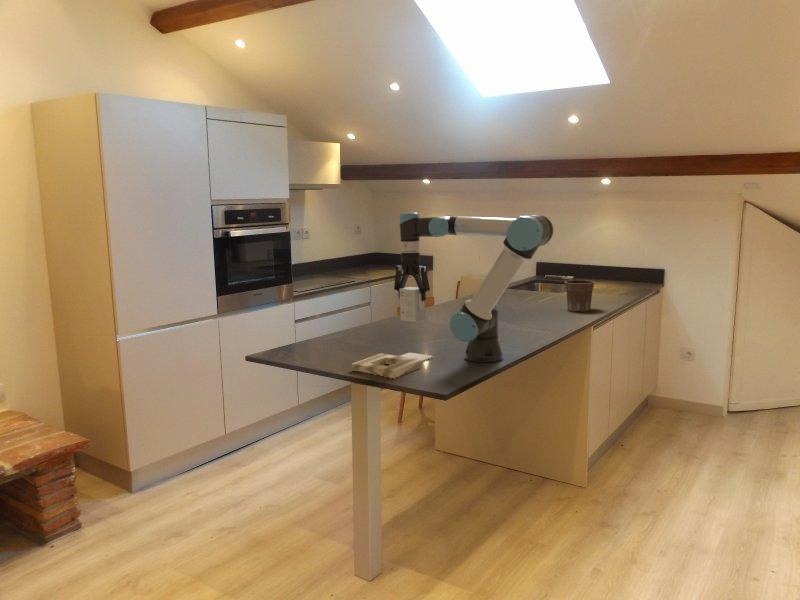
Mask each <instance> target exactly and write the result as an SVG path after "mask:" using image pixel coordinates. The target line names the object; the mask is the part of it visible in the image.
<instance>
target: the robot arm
mask: <svg viewBox="0 0 800 600" xmlns="http://www.w3.org/2000/svg"><path fill="white" fill-rule="evenodd" d="M399 233H400V251H401V253H400V261H401V264H400V265H395V266H394V267H395V277H394V285H393V286H394V287H393V289H394V290H395V291H397V292H398V299H399V300H400V288H405V287H406V283H407V281H408V278H409V277H410V276H412V277H413V278H414V280H415V283H416V285H417V288H419V290H420V292H419V309H420V310H421V309H425V310H426V307H424V301H426V299H427V294H426V293H428V292H430V290H431V289H430V288H431V287H430V283H429V279H428V273H427V269H428V267H427V266H426V265H425V266H423V265H421V263H420V262H421V253H420V250H421V248H420V247H421V246H420V245H421V243H420V238H422V237H423V238H424V237H425V238H426V237H429V238H433V237H434V238H440V237H445V236H468V237H482V238H485V237H486V238H498V239H499V238H500V239H504V240H503V242H502V243H503V246H504V247H503V249H502V251H501V253H500V254H499V255H498V257H497V259H496V261H494V263H493V265H492V267H491V268H490V270H489V272H488V273H487V274H486V276H485V278H484V279H483V281H482V282H481V284H480V285H479V287H478V289H477V290H476V291H475V293H474V295H473V297H472V298H471V299H466V300H465V302H464V303H463V305H462V306H461V308H460V309H459V311H457V312H455V313H454V314H453V315H452V316H451V317H450V320H449V322H448V323H449V324H448V326H449V330H450V333H451V334H452V335H453V337H454V338H455V339H456V340H458V341H459V342H460V341H461V342H464V343H467V345H466V348H465V352H464V358H465V360H467V361H470V362H473V363H493V362H499V361H502V360H503V359H504V351H503V350H502V347H501V343H500V340H499V306H498V304H497V303H498V301H499V300H500V299H501V297H502V295H503V294H504V292H505V291H506V289H507V288H508V286H509V285H510V283H511V282H512V280H513V279H514V278H515V276H516V274H517V273H518V271H519V270H520V269H521V266H522V265H523V264H524V262H525V261H527V260H528V261H529V260H531V259H532V258H533V256H534V255H535V253H536V252H537V250H538V249H539V248H540V247H542V246H545V245H547V244H548V243H549V242H550V241H551V239H552V238H553V236H554V225H553V222H551V220H550V218H548V217H546V216H545V215H542V214H531V215H528V214H527V215H520V216H519V217H518V218H509V217H487V216H486V217H485V216H484V217H482V216H460V215H458V216H456V215H450V214H448V215H443V216H441V215H440V216H427V217H420V216H419V213H418V212H402V213H401V214H400V215H399Z"/></svg>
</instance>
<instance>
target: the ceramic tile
mask: <svg viewBox="0 0 800 600" xmlns="http://www.w3.org/2000/svg"><path fill="white" fill-rule="evenodd" d="M400 356H401V357H407V358H414V359H420V360H422V363H425V362H426V360H427V361H429V360H432V359H433V358H434V355H429V354H424V353H415V352H407V353H404V354H402V355H400ZM431 358H432V359H431ZM428 359H429V360H428Z"/></svg>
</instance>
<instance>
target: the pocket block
mask: <svg viewBox="0 0 800 600" xmlns="http://www.w3.org/2000/svg"><path fill="white" fill-rule="evenodd" d="M422 363H423V362H422V360H420V359H414V358H407V357H401V355H393V354H386V353H382V352H381V353H377V354H375V355H373V356H369V357H367V358H364V359H362V360H358V361H355V362H353V363H351V369H352V368H353V369H357V370H361V371H364V372H368V373H372V374H376V375H380V376H379V377H381V376H384V377H383V378H387V377H389V378H388V379H392V378H394V379H397V378H399V377H402V376H404V375H406V373H407V374H409V373H411V372H413V371H417V370H418V369H421V368H422V367H423V366H422V365H423V364H422ZM383 364H391V365H383ZM376 375H375V376H376ZM401 375H402V376H401ZM396 377H397V378H396Z"/></svg>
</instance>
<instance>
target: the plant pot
mask: <svg viewBox="0 0 800 600" xmlns="http://www.w3.org/2000/svg"><path fill="white" fill-rule="evenodd" d="M595 283H596V282H595V281H594V280H589V279H588V280H587V279H569V280H565V281H564V284H565V285H564V287H565V291H566V305H567V310H568V312H569V311H570V312H577V313H578V312H581V313H584V312H589V311H591V307H592V306H591V305H592V298H593V290H594V285H595Z"/></svg>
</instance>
